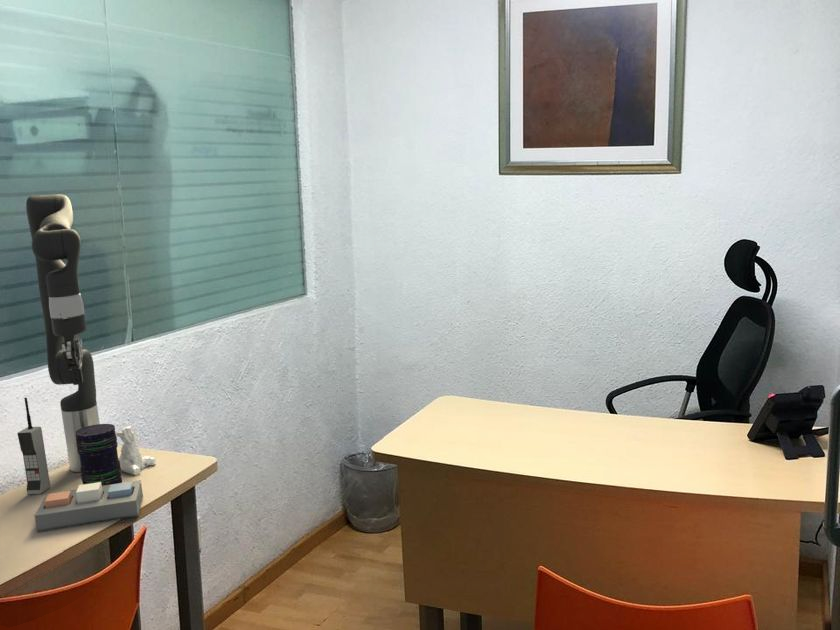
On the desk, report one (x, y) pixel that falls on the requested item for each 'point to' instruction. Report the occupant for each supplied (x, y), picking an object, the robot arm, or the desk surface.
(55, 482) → the desk surface
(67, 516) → the key console
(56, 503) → the orange block
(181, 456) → the desk surface
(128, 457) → the sitting furry creature
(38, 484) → the vintage mobile phone
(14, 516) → the desk surface
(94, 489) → the white key
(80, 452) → the storage jar
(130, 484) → the blue-grey block
